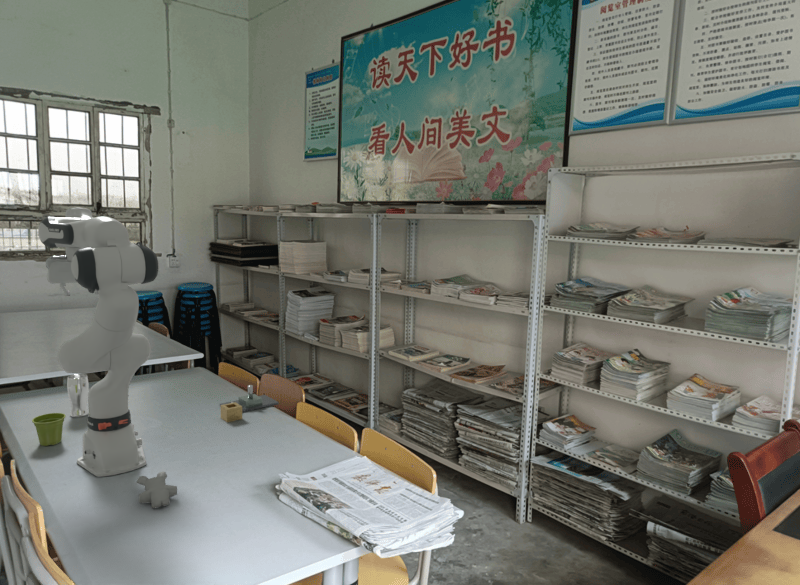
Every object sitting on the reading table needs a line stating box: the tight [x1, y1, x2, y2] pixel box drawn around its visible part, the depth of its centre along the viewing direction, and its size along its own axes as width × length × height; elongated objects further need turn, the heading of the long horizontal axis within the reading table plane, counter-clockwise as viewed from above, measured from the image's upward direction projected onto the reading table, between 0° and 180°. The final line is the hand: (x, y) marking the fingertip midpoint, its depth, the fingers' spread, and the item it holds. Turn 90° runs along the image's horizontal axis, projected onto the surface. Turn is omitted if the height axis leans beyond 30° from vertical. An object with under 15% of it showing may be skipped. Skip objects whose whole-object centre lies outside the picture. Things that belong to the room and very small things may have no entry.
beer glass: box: [66, 373, 90, 418], centre depth 211 cm, size 7×7×15 cm
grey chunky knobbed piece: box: [136, 471, 178, 509], centre depth 151 cm, size 10×5×15 cm
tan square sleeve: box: [219, 402, 243, 423], centre depth 211 cm, size 6×6×5 cm
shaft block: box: [219, 384, 280, 413], centre depth 226 cm, size 12×20×8 cm, turn 130°
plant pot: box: [31, 412, 66, 447], centre depth 185 cm, size 9×9×9 cm
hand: (82, 295), depth 193 cm, fingers open, 8 cm apart
